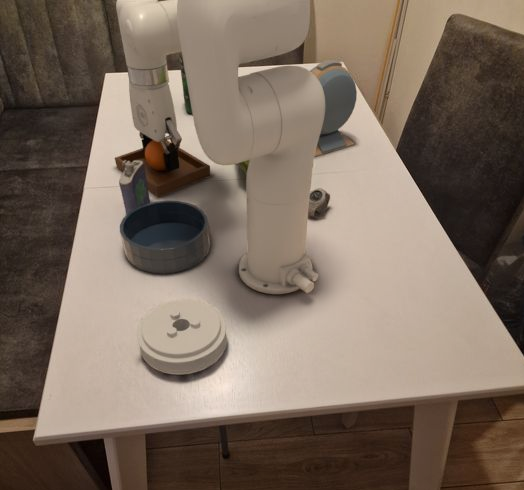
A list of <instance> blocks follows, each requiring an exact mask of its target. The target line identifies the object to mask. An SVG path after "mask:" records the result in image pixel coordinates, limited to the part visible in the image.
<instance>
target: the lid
mask: <svg viewBox="0 0 524 490" xmlns="http://www.w3.org/2000/svg"><path fill="white" fill-rule="evenodd" d="M136 339H137V342H138V345H139V350H140V354H141V357H142V358H143V360H144V361H145V363H147V364H148V366H150V367H151V368H153V369H155V370H157V371H159V372H161V373H164V374H169V375H177V376H178V375H190V374H195V373H198V372H201V371H203V370H205V369H207V368H209V367H210V366H212V365H214V364H215V363H216V362H217V361H218V360H219V359H220V358H221V357H222V355H223V354H224V353H225V350H226V347H227V344H228V335H227V323H226V319H225V317H224V315H223V313H221V311H220V310H219V309H218V308H217V307H215V306H214V305H212V304H210V303H208V302H205V301H202V300H199V299H198V300H197V299H192V298H191V299H190V298H181V299H180V298H179V299H174V300H169V301H166V302H164V303H161V304H159V305H157V306H155V307H153V308H151V310H149V311H147V313H146V314H145V315H144V316H143V317H142V318H141V320H140V321H139V323H138V326H137V329H136Z"/></svg>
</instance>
